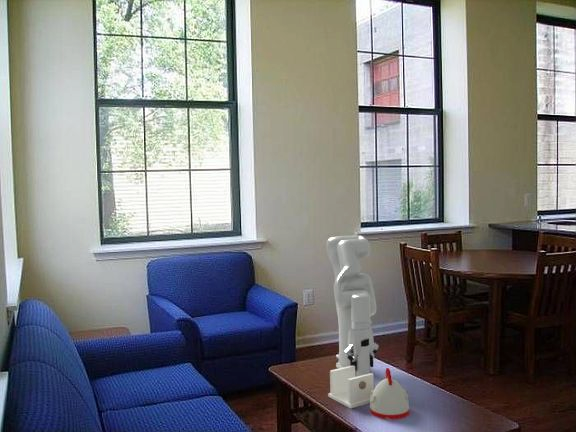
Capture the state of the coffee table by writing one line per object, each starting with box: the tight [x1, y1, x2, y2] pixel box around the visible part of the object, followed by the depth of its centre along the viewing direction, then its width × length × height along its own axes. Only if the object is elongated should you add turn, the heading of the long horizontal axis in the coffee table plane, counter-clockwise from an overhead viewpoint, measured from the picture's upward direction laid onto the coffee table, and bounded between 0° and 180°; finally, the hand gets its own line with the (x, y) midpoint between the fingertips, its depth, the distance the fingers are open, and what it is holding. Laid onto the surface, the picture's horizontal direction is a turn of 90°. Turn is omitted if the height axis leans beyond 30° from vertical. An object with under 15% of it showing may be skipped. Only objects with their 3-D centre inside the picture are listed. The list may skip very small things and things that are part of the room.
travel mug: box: [355, 339, 371, 377], centre depth 228 cm, size 6×7×20 cm
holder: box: [327, 365, 375, 410], centre depth 214 cm, size 14×12×10 cm
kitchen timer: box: [369, 367, 410, 420], centre depth 202 cm, size 14×14×15 cm
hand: (361, 368), depth 228 cm, fingers open, 7 cm apart
